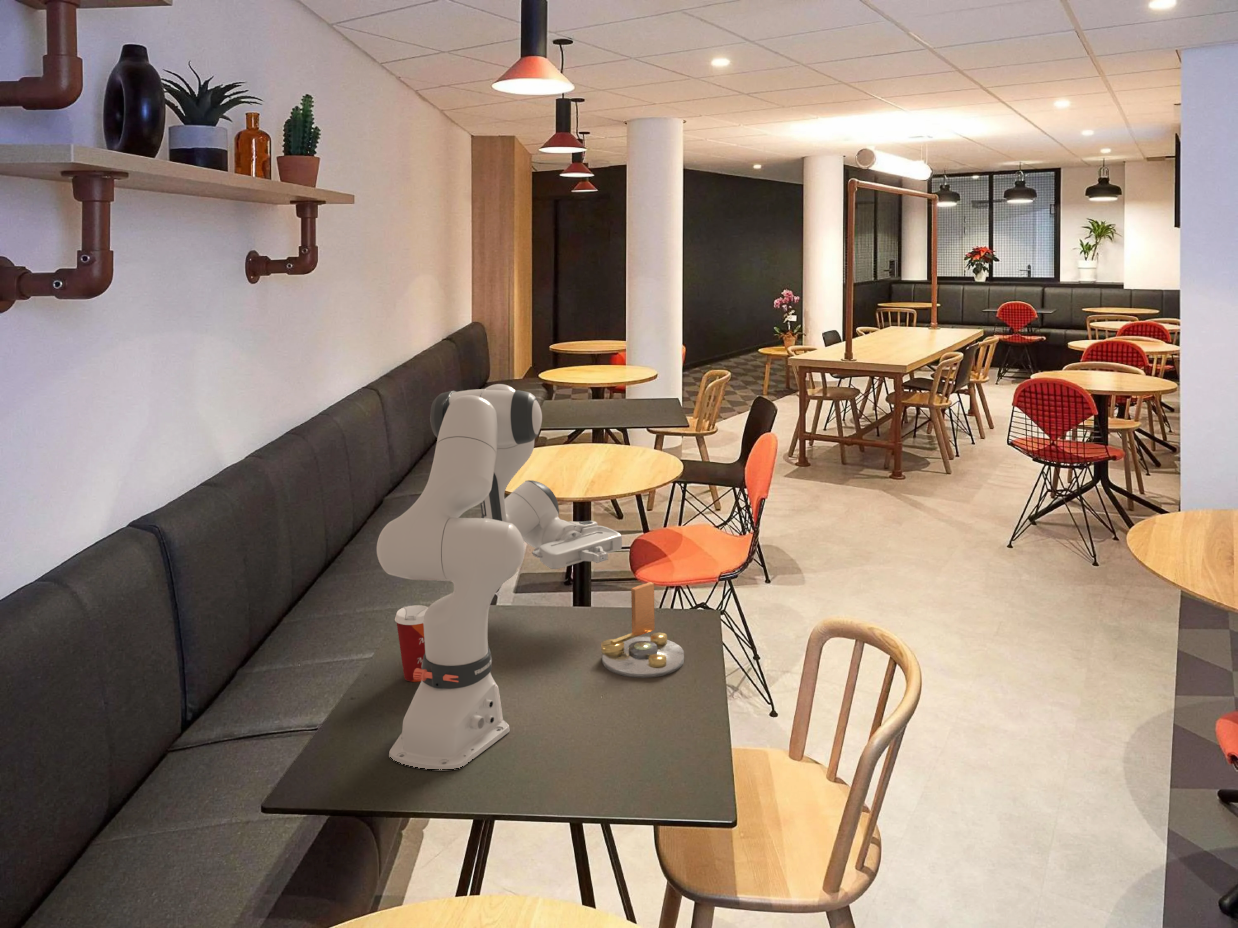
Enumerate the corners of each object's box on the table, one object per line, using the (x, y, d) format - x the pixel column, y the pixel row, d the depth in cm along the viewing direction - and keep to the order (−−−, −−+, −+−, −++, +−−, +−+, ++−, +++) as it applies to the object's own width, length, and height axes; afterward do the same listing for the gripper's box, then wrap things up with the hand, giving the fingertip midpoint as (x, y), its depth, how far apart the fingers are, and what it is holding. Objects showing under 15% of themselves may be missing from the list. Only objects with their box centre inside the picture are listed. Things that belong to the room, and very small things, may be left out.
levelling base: (671, 682, 189) (671, 667, 188) (590, 671, 194) (590, 657, 194) (692, 648, 205) (692, 634, 204) (617, 639, 210) (617, 625, 209)
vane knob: (611, 658, 196) (610, 602, 193) (596, 651, 200) (595, 596, 197) (660, 639, 205) (660, 585, 202) (645, 632, 209) (644, 579, 206)
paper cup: (433, 684, 190) (428, 618, 187) (394, 684, 190) (389, 618, 187) (441, 667, 198) (437, 603, 194) (404, 667, 198) (399, 603, 195)
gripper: (527, 538, 214) (565, 556, 204) (598, 518, 226) (637, 534, 216) (528, 565, 215) (565, 583, 205) (599, 543, 228) (637, 560, 218)
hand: (603, 558), depth 211 cm, fingers closed
